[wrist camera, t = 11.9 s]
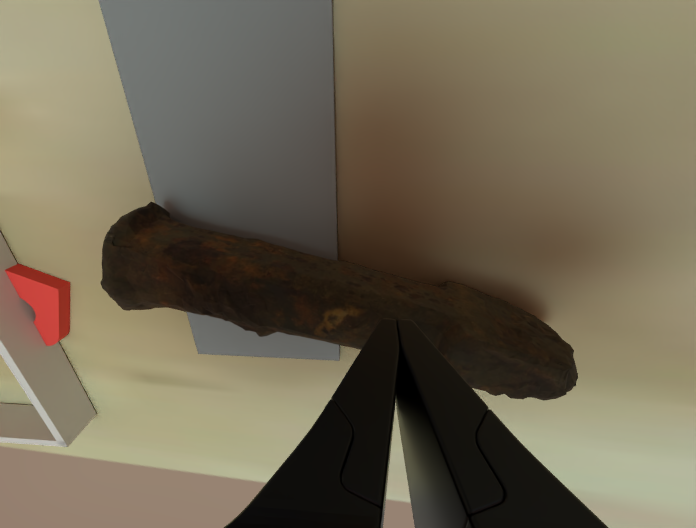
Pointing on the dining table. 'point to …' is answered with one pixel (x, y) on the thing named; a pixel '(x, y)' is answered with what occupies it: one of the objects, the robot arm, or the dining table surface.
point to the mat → (236, 130)
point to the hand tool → (328, 301)
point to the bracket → (44, 300)
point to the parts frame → (36, 375)
